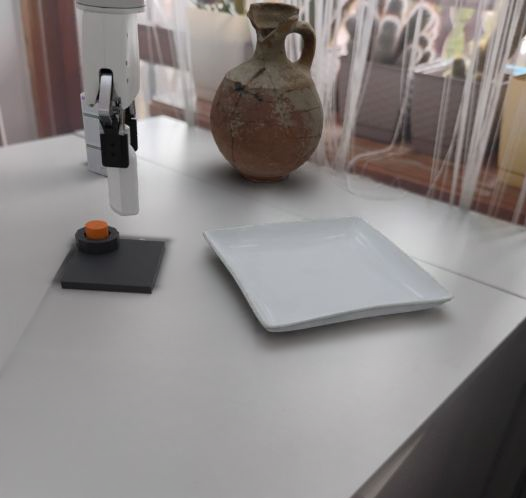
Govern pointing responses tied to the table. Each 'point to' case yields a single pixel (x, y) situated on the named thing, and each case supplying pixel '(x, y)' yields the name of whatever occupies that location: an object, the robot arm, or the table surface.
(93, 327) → the table surface
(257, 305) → the square plate
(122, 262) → the dark grey button base
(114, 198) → the eye dropper bottle
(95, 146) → the syrup box
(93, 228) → the power button
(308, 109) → the jug
